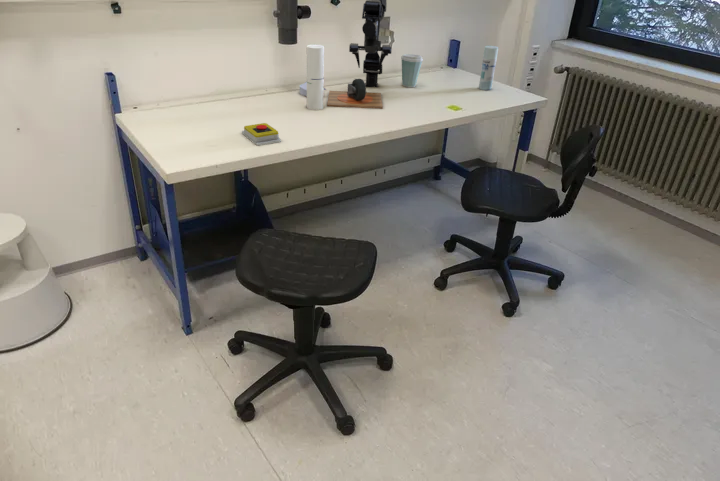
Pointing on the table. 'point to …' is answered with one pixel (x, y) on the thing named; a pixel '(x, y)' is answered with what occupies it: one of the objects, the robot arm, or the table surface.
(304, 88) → the wedge on round base
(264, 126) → the emergency button
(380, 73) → the robot arm
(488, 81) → the spray paint can
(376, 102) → the wooden board
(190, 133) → the table surface
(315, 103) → the cylindrical container
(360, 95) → the caster wheel
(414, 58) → the disposable coffee cup
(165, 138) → the table surface
